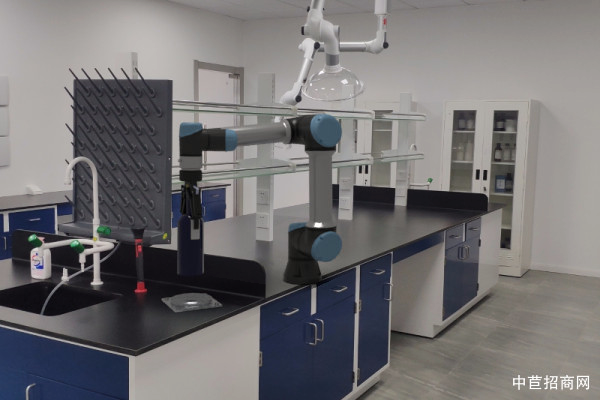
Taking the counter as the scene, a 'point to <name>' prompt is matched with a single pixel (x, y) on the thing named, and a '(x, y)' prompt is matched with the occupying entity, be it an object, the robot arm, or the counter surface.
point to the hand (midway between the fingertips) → (190, 236)
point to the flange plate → (191, 302)
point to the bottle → (189, 246)
